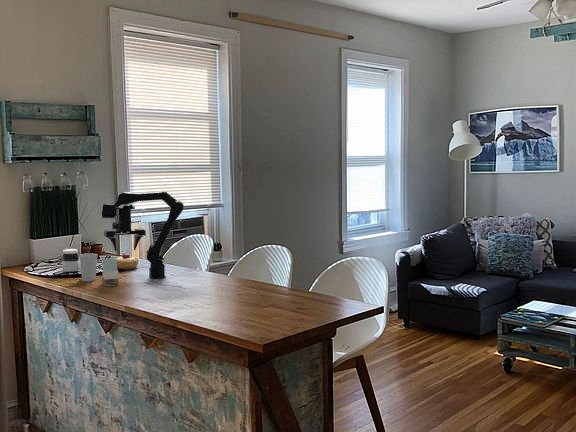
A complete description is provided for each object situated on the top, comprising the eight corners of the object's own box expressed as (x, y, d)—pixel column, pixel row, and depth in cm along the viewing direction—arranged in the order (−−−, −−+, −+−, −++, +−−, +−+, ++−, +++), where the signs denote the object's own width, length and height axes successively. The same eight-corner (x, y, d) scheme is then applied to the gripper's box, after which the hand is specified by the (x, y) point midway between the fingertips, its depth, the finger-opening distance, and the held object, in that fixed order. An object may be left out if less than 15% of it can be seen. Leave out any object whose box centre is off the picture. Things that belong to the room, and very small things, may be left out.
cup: (86, 282, 286) (86, 257, 285) (76, 280, 291) (75, 254, 290) (101, 279, 293) (100, 254, 291) (90, 277, 297) (90, 252, 296)
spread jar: (61, 271, 309) (61, 248, 308) (85, 270, 314) (84, 247, 312) (63, 276, 298) (63, 252, 297) (88, 274, 303) (87, 251, 302)
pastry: (109, 269, 316) (109, 252, 315) (122, 265, 328) (122, 248, 327) (130, 271, 313) (130, 254, 312) (142, 267, 324) (142, 250, 323)
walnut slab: (115, 283, 287) (115, 275, 287) (118, 285, 282) (118, 278, 282) (102, 284, 284) (102, 276, 284) (105, 287, 279) (104, 279, 279)
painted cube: (114, 268, 286) (114, 258, 285) (116, 270, 281) (116, 259, 281) (103, 269, 283) (103, 258, 283) (105, 271, 279) (105, 260, 278)
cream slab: (116, 275, 287) (115, 268, 286) (118, 278, 281) (118, 270, 281) (102, 276, 284) (102, 269, 284) (104, 279, 279) (104, 271, 278)
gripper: (139, 215, 308) (139, 246, 309) (101, 217, 298) (101, 249, 300) (145, 218, 298) (146, 250, 300) (106, 220, 289) (106, 253, 291)
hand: (125, 250), depth 298 cm, fingers open, 9 cm apart
